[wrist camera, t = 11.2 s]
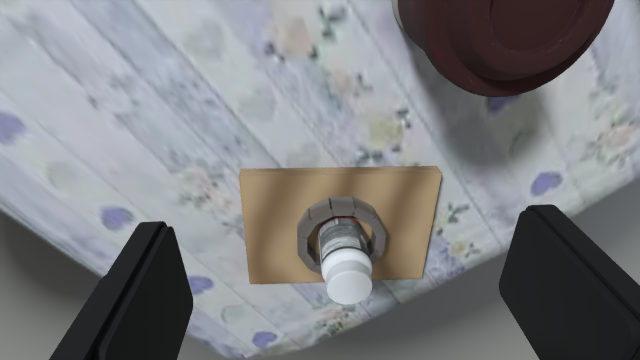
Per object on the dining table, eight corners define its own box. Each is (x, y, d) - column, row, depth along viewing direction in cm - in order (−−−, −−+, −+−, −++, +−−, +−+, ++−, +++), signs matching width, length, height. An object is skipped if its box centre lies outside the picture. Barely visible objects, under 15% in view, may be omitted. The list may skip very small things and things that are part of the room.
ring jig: (436, 166, 38) (449, 182, 35) (417, 269, 45) (426, 290, 42) (240, 169, 37) (235, 186, 34) (251, 275, 44) (247, 297, 41)
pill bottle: (359, 248, 41) (374, 308, 33) (316, 248, 40) (322, 309, 33) (364, 213, 39) (380, 268, 31) (319, 212, 38) (324, 268, 31)
